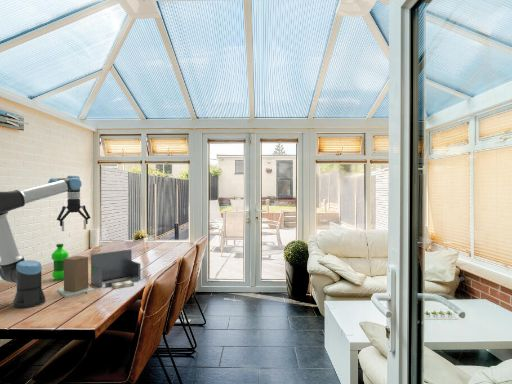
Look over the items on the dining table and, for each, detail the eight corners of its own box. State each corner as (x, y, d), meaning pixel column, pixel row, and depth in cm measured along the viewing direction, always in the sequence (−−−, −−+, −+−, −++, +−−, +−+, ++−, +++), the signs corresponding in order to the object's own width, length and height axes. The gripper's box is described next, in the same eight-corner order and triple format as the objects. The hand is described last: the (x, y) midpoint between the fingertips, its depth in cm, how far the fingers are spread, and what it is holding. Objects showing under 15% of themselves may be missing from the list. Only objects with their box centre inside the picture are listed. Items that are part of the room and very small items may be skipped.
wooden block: (88, 287, 215) (88, 256, 214) (75, 292, 205) (74, 259, 205) (77, 286, 218) (77, 255, 218) (63, 290, 209) (63, 258, 209)
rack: (101, 289, 214) (101, 258, 214) (91, 284, 228) (90, 254, 227) (142, 281, 233) (142, 252, 233) (130, 276, 247) (130, 249, 247)
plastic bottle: (61, 281, 235) (60, 245, 235) (48, 280, 237) (47, 245, 237) (71, 277, 245) (71, 243, 245) (59, 276, 247) (58, 242, 247)
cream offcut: (114, 288, 212) (114, 285, 212) (111, 286, 218) (111, 283, 218) (133, 285, 220) (133, 282, 220) (130, 283, 225) (130, 280, 225)
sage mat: (65, 297, 199) (65, 295, 199) (56, 290, 212) (56, 289, 212) (95, 291, 211) (95, 289, 211) (85, 285, 224) (85, 283, 224)
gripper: (54, 199, 215) (54, 232, 215) (95, 198, 232) (95, 228, 232) (51, 199, 220) (51, 231, 221) (91, 198, 238) (91, 228, 238)
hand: (74, 230), depth 227 cm, fingers open, 13 cm apart
